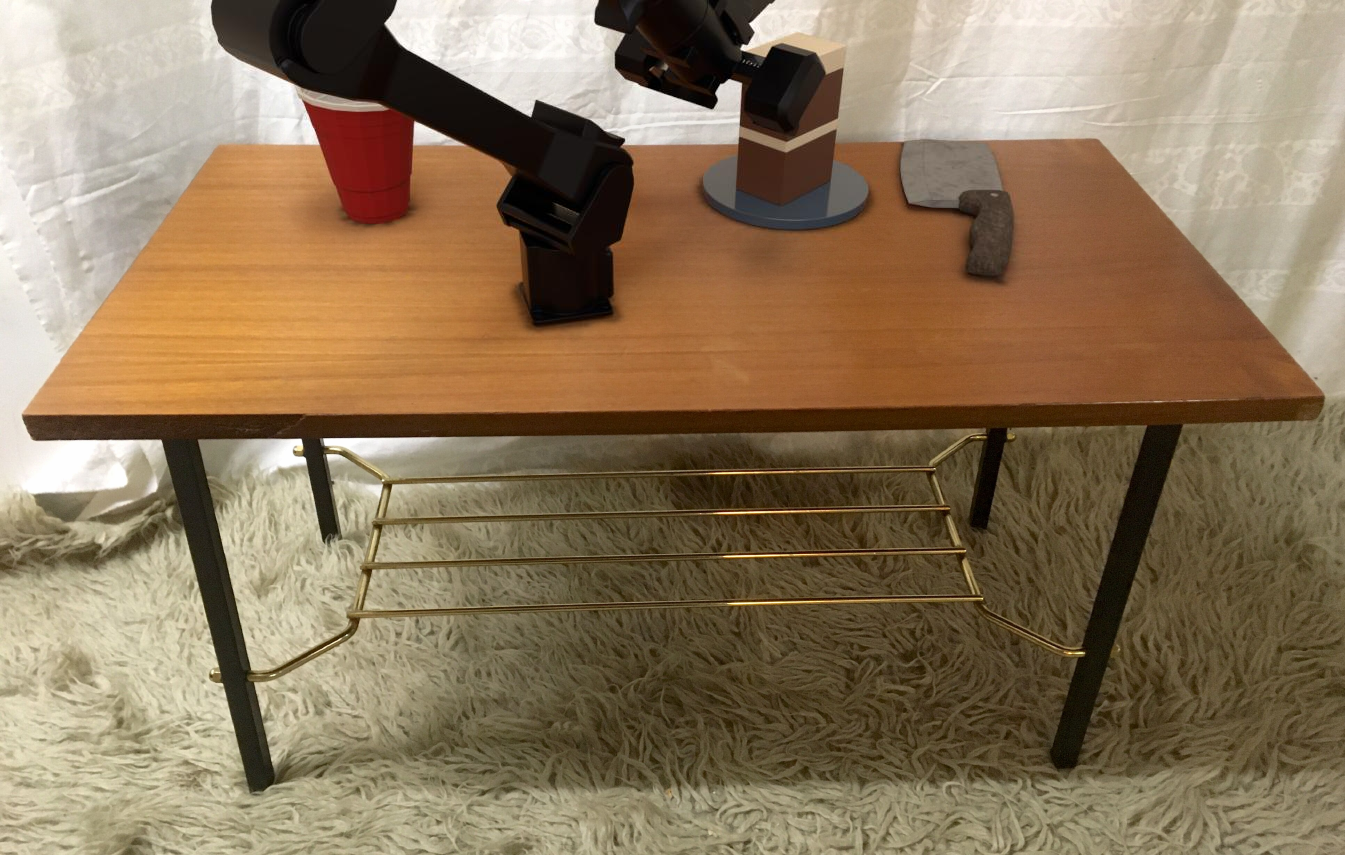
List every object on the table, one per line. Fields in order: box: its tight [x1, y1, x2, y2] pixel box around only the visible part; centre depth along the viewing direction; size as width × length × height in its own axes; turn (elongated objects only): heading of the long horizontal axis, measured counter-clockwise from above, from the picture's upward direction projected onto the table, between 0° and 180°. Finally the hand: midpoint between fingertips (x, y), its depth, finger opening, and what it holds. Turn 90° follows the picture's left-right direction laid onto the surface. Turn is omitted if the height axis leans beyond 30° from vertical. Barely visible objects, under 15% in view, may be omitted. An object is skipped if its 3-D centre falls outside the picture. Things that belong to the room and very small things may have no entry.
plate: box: [702, 154, 870, 231], centre depth 103 cm, size 16×16×1 cm
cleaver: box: [899, 138, 1015, 277], centre depth 101 cm, size 29×10×2 cm, turn 173°
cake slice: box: [736, 31, 847, 206], centre depth 98 cm, size 8×6×13 cm
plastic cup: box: [293, 84, 415, 224], centre depth 95 cm, size 11×11×12 cm
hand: (753, 117), depth 94 cm, fingers open, 9 cm apart
